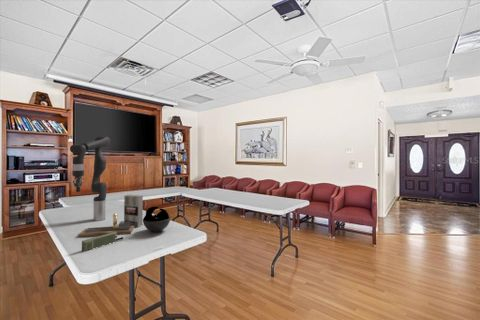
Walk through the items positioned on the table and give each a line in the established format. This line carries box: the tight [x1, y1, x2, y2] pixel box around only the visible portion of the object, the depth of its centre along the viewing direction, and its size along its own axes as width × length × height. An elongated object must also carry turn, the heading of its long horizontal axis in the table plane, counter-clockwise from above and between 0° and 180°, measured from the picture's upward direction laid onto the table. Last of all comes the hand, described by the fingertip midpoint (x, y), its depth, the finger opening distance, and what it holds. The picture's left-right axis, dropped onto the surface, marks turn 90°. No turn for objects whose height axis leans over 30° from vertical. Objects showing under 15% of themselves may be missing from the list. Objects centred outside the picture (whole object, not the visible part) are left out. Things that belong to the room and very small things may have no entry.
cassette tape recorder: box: [123, 194, 144, 228], centre depth 189 cm, size 14×6×25 cm, turn 76°
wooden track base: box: [77, 225, 135, 239], centre depth 172 cm, size 14×34×4 cm, turn 106°
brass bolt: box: [112, 212, 119, 228], centre depth 174 cm, size 3×8×12 cm, turn 106°
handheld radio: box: [81, 232, 124, 252], centre depth 148 cm, size 7×3×25 cm
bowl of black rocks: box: [142, 205, 171, 233], centre depth 177 cm, size 20×20×19 cm
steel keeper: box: [118, 220, 131, 230], centre depth 175 cm, size 6×7×5 cm
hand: (78, 191), depth 180 cm, fingers closed
